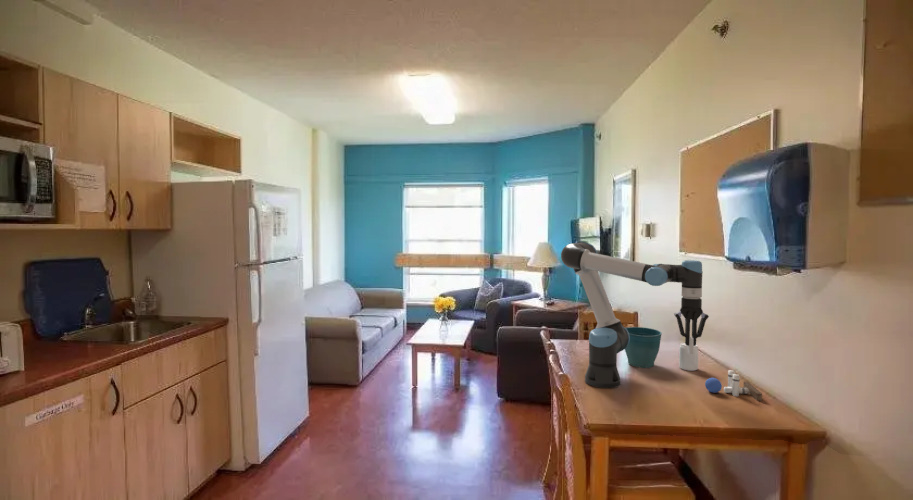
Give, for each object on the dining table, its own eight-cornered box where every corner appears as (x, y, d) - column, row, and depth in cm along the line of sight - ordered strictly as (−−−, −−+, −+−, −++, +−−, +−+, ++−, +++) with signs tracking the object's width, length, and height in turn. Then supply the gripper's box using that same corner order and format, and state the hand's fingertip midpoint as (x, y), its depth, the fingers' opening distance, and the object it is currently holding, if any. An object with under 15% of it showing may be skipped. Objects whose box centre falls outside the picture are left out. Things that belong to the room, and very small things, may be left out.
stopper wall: (757, 400, 176) (757, 393, 176) (743, 388, 190) (743, 381, 190) (761, 401, 176) (762, 393, 176) (747, 388, 189) (747, 381, 189)
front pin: (725, 387, 184) (748, 388, 182) (723, 385, 186) (746, 387, 185) (725, 393, 184) (749, 394, 182) (723, 391, 186) (746, 393, 185)
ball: (726, 387, 181) (717, 398, 183) (722, 380, 187) (713, 391, 189) (713, 378, 182) (703, 389, 184) (709, 372, 188) (700, 383, 190)
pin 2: (733, 396, 181) (733, 375, 181) (731, 394, 184) (731, 373, 183) (740, 396, 180) (740, 376, 180) (737, 394, 183) (738, 374, 182)
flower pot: (669, 367, 217) (670, 333, 217) (640, 372, 211) (641, 337, 210) (641, 357, 234) (642, 325, 233) (614, 361, 228) (614, 329, 227)
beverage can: (700, 371, 211) (700, 346, 210) (681, 370, 213) (682, 346, 212) (694, 366, 219) (695, 342, 218) (677, 365, 221) (677, 341, 220)
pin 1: (728, 391, 186) (729, 371, 185) (726, 389, 188) (727, 369, 188) (735, 392, 185) (736, 372, 185) (733, 390, 188) (733, 370, 187)
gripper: (676, 298, 184) (675, 354, 185) (711, 299, 181) (710, 356, 182) (672, 295, 191) (671, 349, 192) (705, 296, 188) (704, 351, 189)
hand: (690, 353), depth 187 cm, fingers closed
